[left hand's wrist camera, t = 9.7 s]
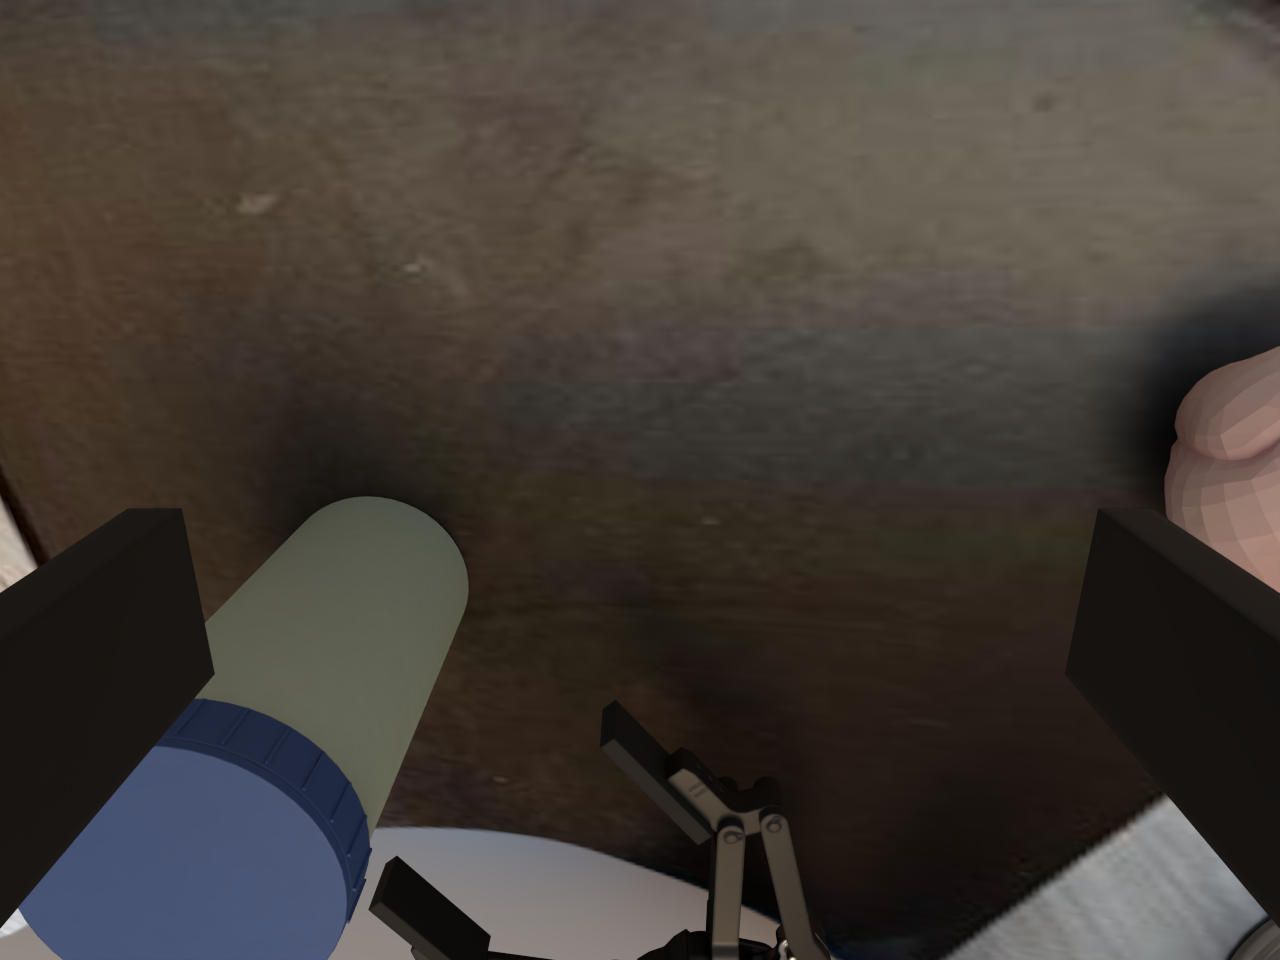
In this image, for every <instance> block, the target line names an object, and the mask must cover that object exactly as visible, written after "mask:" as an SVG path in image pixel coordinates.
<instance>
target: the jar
mask: <svg viewBox="0 0 1280 960" xmlns="http://www.w3.org/2000/svg"><path fill="white" fill-rule="evenodd" d="M467 599H468V575H467V570H466V566H465V563H464V560H463V557H462V555H461V553H460V551H459V549H458V547H457V546H456V544H455V543H454V541H453V539H452V538H451V537H450V536H449V534H448V533H447V532H446V531H445V530H444V529H443V528H442V527H441V526H440V525H439V524H438V523H437V522H436V521H435V520H433V519H432V518H431V517H429V516H428V515H427V514H425V513H423V512H422V511H420V510H418V509H416V508H415V507H412V506H410V505H408V504H405V503H403V502H399V501H396V500H393V499H387V498H382V497H369V496H366V497H353V498H348V499H343V500H340V501H337V502H334V503H331V504H329V505H327V506H325V507H323V508H321V509H320V510H319V511H317V512H316V513H314V514H313V515H312V516H311V517H309V518H308V519H307V520H306V521H305V522H304V523H303V524H302V525H301V526H300V527H299V528H298V529H297V530H296V531H295V532H294V533H293V534H292V535H291V536H290V537H289V538H288V539H287V541H286V542H285V543H284V544H283V545H282V546H281V547H280V548H279V549H278V550H277V551H276V552H275V553H274V554H273V555H272V556H271V557H270V558H269V559H268V560H267V561H266V562H265V563H264V564H263V565H262V566H261V567H260V568H259V569H258V570H257V571H256V572H255V573H254V574H253V575H252V576H251V577H250V578H249V579H248V580H247V581H246V582H245V583H244V584H243V585H242V586H241V587H240V588H239V589H238V590H237V591H236V592H235V593H234V595H233V596H232V597H231V598H230V599H229V600H228V601H227V602H226V603H225V604H224V605H223V606H222V607H221V608H220V609H219V610H218V611H217V612H216V613H215V614H214V615H213V616H212V617H211V618H210V619H209V620H208V621H207V622H206V623H205V627H206V632H207V637H208V642H209V647H210V652H211V657H212V662H213V667H214V672H215V675H214V676H213V677H212V678H211V679H210V681H209V682H208V683H207V684H206V685H205V687H204V688H203V689H202V690H201V691H200V692H199V694H198V695H197V696H196V697H195V698H194V699H202V698H205V699H209V700H215V701H221V702H227V703H231V704H235V705H239V706H242V707H246V708H250V709H252V710H255V711H257V712H260V713H263V714H265V715H268V716H270V717H273V718H274V719H276V720H278V721H280V722H282V723H284V724H286V725H288V726H290V727H292V728H293V729H295V730H296V731H298V732H299V733H301V734H302V735H304V736H305V737H307V738H308V739H309V740H311V741H312V742H313V743H314V744H316V745H317V746H318V747H319V748H320V749H322V750H323V751H324V752H326V754H327V755H328V756H329V757H330V758H331V759H332V760H333V761H334V762H335V763H336V764H337V765H338V766H339V768H340V769H341V771H342V772H343V773H344V775H345V776H346V777H347V779H348V780H349V781H350V782H351V783H352V787H353V788H354V790H355V792H356V794H357V795H358V797H359V800H360V802H361V805H362V807H363V810H364V813H365V815H367V817H368V818H367V825H368V829H369V841H370V839H371V836H372V834H373V831H374V829H375V827H376V824H377V822H378V819H379V817H380V815H381V812H382V810H383V807H384V805H385V802H386V800H387V798H388V795H389V793H390V790H391V788H392V785H393V783H394V781H395V778H396V776H397V773H398V771H399V769H400V766H401V764H402V761H403V759H404V756H405V754H406V752H407V749H408V747H409V744H410V742H411V739H412V737H413V735H414V732H415V730H416V727H417V725H418V722H419V720H420V718H421V715H422V713H423V710H424V708H425V706H426V703H427V701H428V698H429V696H430V693H431V691H432V689H433V686H434V684H435V681H436V679H437V676H438V674H439V672H440V669H441V667H442V664H443V662H444V659H445V657H446V655H447V652H448V650H449V647H450V645H451V643H452V640H453V638H454V635H455V633H456V630H457V628H458V626H459V623H460V621H461V618H462V616H463V613H464V611H465V607H466V604H467Z"/></svg>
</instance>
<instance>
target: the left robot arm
mask: <svg viewBox="0 0 1280 960" xmlns="http://www.w3.org/2000/svg"><path fill="white" fill-rule="evenodd" d="M214 675H215V672H214V667H213V662H212V657H211V652H210V647H209V642H208V637H207V632H206V627H205V622H204V617H203V612H202V607H201V602H200V597H199V592H198V587H197V582H196V577H195V572H194V567H193V562H192V557H191V553H190V548H189V543H188V538H187V533H186V528H185V523H184V518H183V513H182V509H127V510H125V511H124V512H122V513H121V514H119V515H118V516H116V517H115V518H113V519H112V520H110V521H108V522H107V523H105V524H104V525H102V526H101V527H99V528H98V529H96V530H95V531H93V532H92V533H90V534H89V535H87V536H86V537H84V538H83V539H81V540H80V541H78V542H77V543H75V544H74V545H72V546H71V547H69V548H68V549H66V550H65V551H63V552H62V553H60V554H59V555H57V556H55V557H54V558H52V559H51V560H49V561H48V562H46V563H45V564H43V565H42V566H40V567H39V568H37V569H36V570H34V571H33V572H31V573H30V574H28V575H27V576H25V577H24V578H22V579H21V580H19V581H18V582H16V583H15V584H13V585H12V586H10V587H9V588H7V589H6V590H4V591H2V592H1V593H0V928H1V927H2V926H3V925H4V924H5V922H6V921H7V920H8V919H9V918H10V916H11V915H12V914H13V913H14V912H15V910H16V909H17V908H18V907H19V906H20V905H21V903H22V902H23V901H24V900H25V899H26V897H27V896H28V895H29V894H30V893H31V892H32V890H33V889H34V888H35V887H36V886H37V884H38V883H39V882H40V881H41V880H42V878H43V877H44V876H45V875H46V874H47V873H48V871H49V870H50V869H51V868H52V867H53V865H54V864H55V863H56V862H57V861H58V860H59V858H60V857H61V856H62V855H63V854H64V852H65V851H66V850H67V849H68V848H69V846H70V845H71V844H72V843H73V842H74V841H75V839H76V838H77V837H78V836H79V835H80V833H81V832H82V831H83V830H84V829H85V828H86V826H87V825H88V824H89V823H90V822H91V820H92V819H93V818H94V817H95V816H96V814H97V813H98V812H99V811H100V810H101V809H102V807H103V806H104V805H105V804H106V803H107V801H108V800H109V799H110V798H111V797H112V796H113V794H114V793H115V792H116V791H117V790H118V788H119V787H120V786H121V785H122V784H123V782H124V781H125V780H126V779H127V778H128V777H129V775H130V774H131V773H132V772H133V771H134V769H135V768H136V767H137V766H138V765H139V764H140V762H141V761H142V760H143V759H144V758H145V756H146V755H147V754H148V753H149V752H150V751H151V749H152V748H153V747H154V746H155V745H156V743H157V742H158V741H159V740H160V739H161V737H162V736H163V735H164V734H165V733H166V732H167V730H168V729H169V728H170V727H171V726H172V724H173V723H174V722H175V721H176V720H177V719H178V717H179V716H180V715H181V714H182V713H183V711H184V710H185V709H186V708H187V707H188V705H189V704H190V703H191V702H192V701H193V700H194V698H195V697H196V696H197V695H198V694H199V692H200V691H201V690H202V689H203V688H204V687H205V685H206V684H207V683H208V682H209V681H210V679H211V678H212V677H213V676H214ZM1065 675H1066V676H1067V677H1068V678H1069V679H1070V681H1071V682H1072V683H1073V684H1074V685H1075V687H1076V688H1077V689H1078V690H1079V691H1080V692H1081V694H1082V695H1083V696H1084V697H1085V698H1086V700H1087V701H1088V702H1089V703H1090V704H1091V705H1092V707H1093V708H1094V709H1095V710H1096V711H1097V713H1098V714H1099V715H1100V716H1101V717H1102V719H1103V720H1104V721H1105V722H1106V723H1107V724H1108V726H1109V727H1110V728H1111V729H1112V730H1113V732H1114V733H1115V734H1116V735H1117V736H1118V737H1119V739H1120V740H1121V741H1122V742H1123V743H1124V745H1125V746H1126V747H1127V748H1128V749H1129V751H1130V752H1131V753H1132V754H1133V755H1134V756H1135V758H1136V759H1137V760H1138V761H1139V762H1140V764H1141V765H1142V766H1143V767H1144V768H1145V769H1146V771H1147V772H1148V773H1149V774H1150V775H1151V777H1152V778H1153V779H1154V780H1155V781H1156V782H1157V784H1158V785H1159V786H1160V787H1161V788H1162V790H1163V791H1164V792H1165V793H1166V794H1167V796H1168V797H1169V798H1170V799H1171V800H1172V801H1173V803H1174V804H1175V805H1176V806H1177V807H1178V809H1179V810H1180V811H1181V812H1182V813H1183V814H1184V816H1185V817H1186V818H1187V819H1188V820H1189V822H1190V823H1191V824H1192V825H1193V826H1194V828H1195V829H1196V830H1197V831H1198V832H1199V833H1200V835H1201V836H1202V837H1203V838H1204V839H1205V841H1206V842H1207V843H1208V844H1209V845H1210V846H1211V848H1212V849H1213V850H1214V851H1215V852H1216V854H1217V855H1218V856H1219V857H1220V858H1221V860H1222V861H1223V862H1224V863H1225V864H1226V865H1227V867H1228V868H1229V869H1230V870H1231V871H1232V873H1233V874H1234V875H1235V876H1236V877H1237V878H1238V880H1239V881H1240V882H1241V883H1242V884H1243V886H1244V887H1245V888H1246V889H1247V890H1248V892H1249V893H1250V894H1251V895H1252V896H1253V897H1254V899H1255V900H1256V901H1257V902H1258V903H1259V905H1260V906H1261V907H1262V908H1263V909H1264V910H1265V912H1266V913H1267V914H1268V915H1269V916H1270V918H1271V919H1272V920H1273V921H1274V922H1275V924H1276V925H1277V926H1278V927H1279V928H1280V593H1279V592H1278V591H1276V590H1274V589H1273V588H1271V587H1270V586H1268V585H1267V584H1265V583H1264V582H1262V581H1261V580H1259V579H1258V578H1256V577H1255V576H1253V575H1252V574H1250V573H1249V572H1247V571H1246V570H1244V569H1243V568H1241V567H1240V566H1238V565H1237V564H1235V563H1234V562H1232V561H1231V560H1229V559H1228V558H1226V557H1225V556H1223V555H1221V554H1220V553H1218V552H1217V551H1215V550H1214V549H1212V548H1211V547H1209V546H1208V545H1206V544H1205V543H1203V542H1202V541H1200V540H1199V539H1197V538H1196V537H1194V536H1193V535H1191V534H1190V533H1188V532H1187V531H1185V530H1184V529H1182V528H1181V527H1179V526H1178V525H1176V524H1175V523H1173V522H1172V521H1170V520H1168V519H1167V518H1165V517H1164V516H1162V515H1161V514H1159V513H1158V512H1156V511H1155V510H1153V509H1098V513H1097V518H1096V523H1095V528H1094V533H1093V538H1092V543H1091V548H1090V553H1089V557H1088V562H1087V567H1086V572H1085V577H1084V582H1083V587H1082V592H1081V597H1080V602H1079V607H1078V612H1077V617H1076V622H1075V627H1074V632H1073V637H1072V642H1071V647H1070V652H1069V657H1068V662H1067V667H1066V672H1065Z"/></svg>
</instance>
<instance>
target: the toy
mask: <svg viewBox="0 0 1280 960" xmlns="http://www.w3.org/2000/svg"><path fill="white" fill-rule="evenodd" d="M1175 429H1176V432H1177V436H1178V439H1177V440H1176V442H1175V443H1174V444H1173V446H1172V448H1171V456H1170V462H1169V465H1168V468H1167V472H1166V475H1165V487H1164V490H1165V503H1166V514H1167V517H1168V520H1170V521H1172V522H1173V523H1175V524H1176V525H1178V526H1179V527H1181V528H1182V529H1184V530H1185V531H1187V532H1188V533H1190V534H1191V535H1193V536H1194V537H1196V538H1197V539H1199V540H1200V541H1202V542H1203V543H1205V544H1206V545H1208V546H1209V547H1211V548H1212V549H1214V550H1215V551H1217V552H1218V553H1220V554H1221V555H1223V556H1225V557H1226V558H1228V559H1229V560H1231V561H1232V562H1234V563H1235V564H1237V565H1238V566H1240V567H1241V568H1243V569H1244V570H1246V571H1247V572H1249V573H1250V574H1252V575H1253V576H1255V577H1256V578H1258V579H1259V580H1261V581H1262V582H1264V583H1265V584H1267V585H1268V586H1270V587H1271V588H1273V589H1274V590H1276V591H1278V592H1279V593H1280V346H1278V347H1276V348H1274V349H1272V350H1269V351H1267V352H1265V353H1262V354H1259V355H1256V356H1254V357H1251V358H1249V359H1246V360H1242V361H1238V362H1234V363H1230V364H1228V365H1226V366H1223V367H1221V368H1219V369H1216V370H1214V371H1212V372H1210V373H1209V374H1207V375H1206V376H1205V377H1203V378H1202V379H1201V380H1200V381H1198V382H1197V383H1196V384H1195V386H1194V387H1193V388H1192V389H1191V390H1190V391H1189V393H1188V394H1187V395H1186V396H1185V397H1184V399H1183V401H1182V403H1181V405H1180V407H1179V409H1178V411H1177V416H1176V421H1175Z"/></svg>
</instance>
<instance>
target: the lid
mask: <svg viewBox="0 0 1280 960" xmlns="http://www.w3.org/2000/svg"><path fill="white" fill-rule="evenodd" d="M367 818H368V817H367V815H365V813H364V810H363V807H362V805H361V802H360V800H359V797H358V795H357V794H356V792H355V790H354V788H353V787H352V783H351V782H350V781H349V780H348V779H347V777H346V776H345V775H344V773H343V772H342V771H341V769H340V768H339V766H338V765H337V764H336V763H335V762H334V761H333V760H332V759H331V758H330V757H329V756H328V755H327V754H326V752H324V751H323V750H322V749H320V748H319V747H318V746H317V745H316V744H314V743H313V742H312V741H311V740H309V739H308V738H307V737H305V736H304V735H302V734H301V733H299V732H298V731H296V730H295V729H293V728H292V727H290V726H288V725H286V724H284V723H282V722H280V721H278V720H276V719H274V718H273V717H270V716H268V715H265V714H263V713H260V712H257V711H255V710H252V709H250V708H246V707H242V706H239V705H235V704H231V703H227V702H221V701H215V700H209V699H205V698H202V699H194V700H193V701H192V702H191V703H190V704H189V705H188V707H187V708H186V709H185V710H184V711H183V713H182V714H181V715H180V716H179V717H178V719H177V720H176V721H175V722H174V723H173V724H172V726H171V727H170V728H169V729H168V730H167V732H166V733H165V734H164V735H163V736H162V737H161V739H160V740H159V741H158V742H157V743H156V745H155V746H154V747H153V748H152V749H151V751H150V752H149V753H148V754H147V755H146V756H145V758H144V759H143V760H142V761H141V762H140V764H139V765H138V766H137V767H136V768H135V769H134V771H133V772H132V773H131V774H130V775H129V777H128V778H127V779H126V780H125V781H124V782H123V784H122V785H121V786H120V787H119V788H118V790H117V791H116V792H115V793H114V794H113V796H112V797H111V798H110V799H109V800H108V801H107V803H106V804H105V805H104V806H103V807H102V809H101V810H100V811H99V812H98V813H97V814H96V816H95V817H94V818H93V819H92V820H91V822H90V823H89V824H88V825H87V826H86V828H85V829H84V830H83V831H82V832H81V833H80V835H79V836H78V837H77V838H76V839H75V841H74V842H73V843H72V844H71V845H70V846H69V848H68V849H67V850H66V851H65V852H64V854H63V855H62V856H61V857H60V858H59V860H58V861H57V862H56V863H55V864H54V865H53V867H52V868H51V869H50V870H49V871H48V873H47V874H46V875H45V876H44V877H43V878H42V880H41V881H40V882H39V883H38V884H37V886H36V887H35V888H34V889H33V890H32V892H31V893H30V894H29V895H28V896H27V897H26V899H25V900H24V901H23V902H22V903H21V905H20V906H19V907H18V909H19V910H20V912H21V914H22V915H23V917H24V919H25V920H26V922H27V923H28V924H29V926H30V927H31V928H32V930H33V931H34V932H35V933H36V935H37V936H38V937H39V938H40V939H41V940H42V941H43V942H44V943H45V944H46V945H47V946H48V947H49V948H50V949H51V950H52V951H53V952H54V953H55V954H57V955H58V956H59V957H60V958H61V959H63V960H327V959H328V958H329V956H330V955H331V954H332V952H333V951H334V949H335V947H336V945H337V943H338V941H339V939H340V937H341V935H342V933H343V930H344V927H345V925H346V923H350V920H351V918H352V915H353V912H354V910H355V907H356V905H357V902H358V900H359V897H360V895H361V892H362V890H363V887H364V885H365V882H366V879H364V877H365V873H366V870H367V866H368V861H369V857H370V854H371V852H372V848H370V841H369V829H368V825H367Z"/></svg>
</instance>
